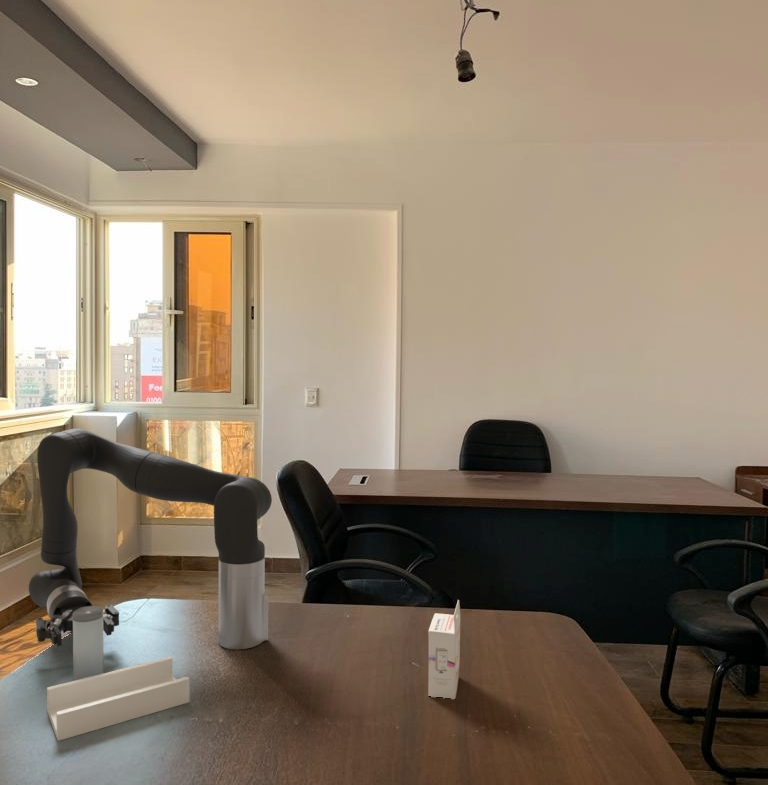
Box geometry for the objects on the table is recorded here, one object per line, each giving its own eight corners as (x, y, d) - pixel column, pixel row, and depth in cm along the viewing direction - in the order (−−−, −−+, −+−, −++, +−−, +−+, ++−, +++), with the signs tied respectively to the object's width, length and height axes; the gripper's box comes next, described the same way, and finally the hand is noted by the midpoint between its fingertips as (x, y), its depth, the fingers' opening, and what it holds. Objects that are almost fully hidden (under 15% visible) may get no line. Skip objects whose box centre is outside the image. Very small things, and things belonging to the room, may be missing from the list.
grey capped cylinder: (100, 667, 121) (99, 604, 120) (106, 678, 117) (106, 612, 116) (70, 674, 118) (70, 609, 117) (76, 685, 114) (75, 618, 113)
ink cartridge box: (432, 674, 120) (434, 596, 119) (459, 677, 119) (461, 598, 118) (426, 697, 111) (428, 613, 111) (455, 700, 110) (457, 616, 110)
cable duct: (170, 678, 117) (170, 656, 117) (189, 702, 109) (189, 678, 108) (47, 711, 105) (46, 687, 105) (57, 741, 97) (57, 714, 97)
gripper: (29, 596, 128) (41, 623, 115) (106, 583, 136) (125, 607, 123) (29, 633, 128) (42, 665, 115) (106, 618, 137) (125, 646, 124)
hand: (85, 635), depth 119 cm, fingers open, 8 cm apart
